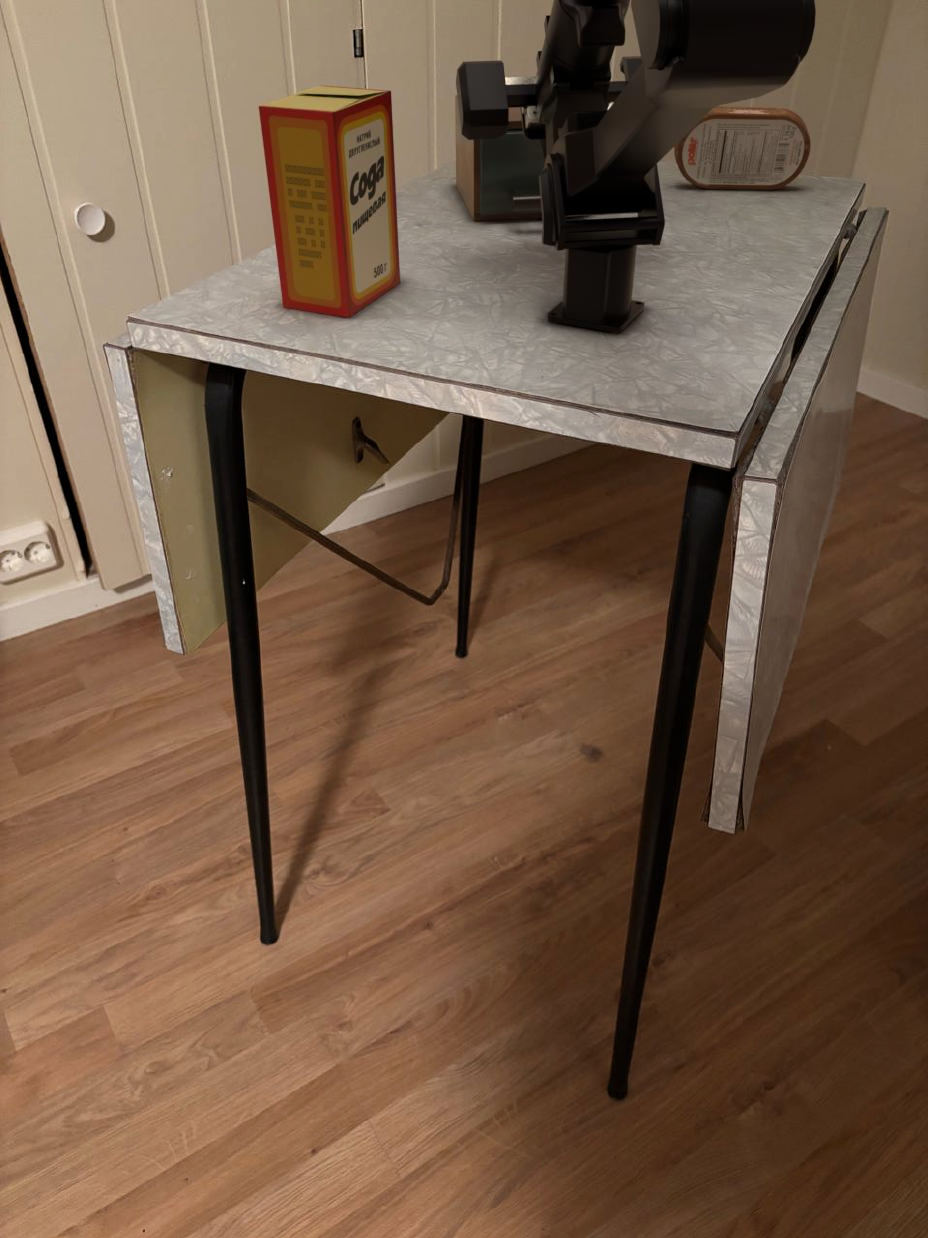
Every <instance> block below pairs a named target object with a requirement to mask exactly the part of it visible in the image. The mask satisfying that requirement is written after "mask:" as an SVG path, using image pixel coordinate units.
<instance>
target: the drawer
mask: <svg viewBox="0 0 928 1238" xmlns="http://www.w3.org/2000/svg"><path fill="white" fill-rule="evenodd" d="M545 160H546V159H545V158H544V154H543V150H542V146H541V142H540V140H529V139H527V138H526V137H525V136H524V133H523V129H510V130H507V133H506V134H504V135H503V136H501V137H499V138H498V139H482V140H480V194H479V212H480V214H481V215H500V214H521V213H542V208H541V197H540V185H539V175H540V174H541V173H542V171H543V168H544V165H545Z"/></svg>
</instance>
